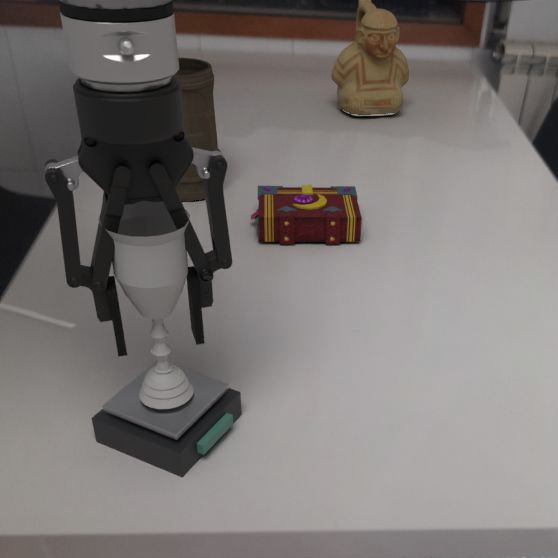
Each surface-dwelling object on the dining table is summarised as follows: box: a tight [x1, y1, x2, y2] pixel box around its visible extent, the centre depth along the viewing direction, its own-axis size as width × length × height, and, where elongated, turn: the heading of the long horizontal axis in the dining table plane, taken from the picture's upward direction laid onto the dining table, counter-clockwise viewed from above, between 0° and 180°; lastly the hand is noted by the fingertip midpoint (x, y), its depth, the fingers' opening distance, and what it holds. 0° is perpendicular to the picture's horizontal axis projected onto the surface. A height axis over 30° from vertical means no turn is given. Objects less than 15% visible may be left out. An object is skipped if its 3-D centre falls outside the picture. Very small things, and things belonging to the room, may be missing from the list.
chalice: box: [97, 201, 194, 409], centre depth 63 cm, size 7×7×18 cm
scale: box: [91, 387, 243, 478], centre depth 70 cm, size 11×10×3 cm
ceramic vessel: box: [330, 0, 410, 115], centre depth 151 cm, size 17×20×25 cm
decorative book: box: [250, 184, 363, 245], centre depth 107 cm, size 11×16×5 cm
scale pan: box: [101, 359, 230, 440], centre depth 69 cm, size 8×8×1 cm
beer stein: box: [173, 57, 219, 202], centre depth 112 cm, size 15×11×20 cm
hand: (160, 341), depth 65 cm, fingers closed on chalice, 6 cm apart
